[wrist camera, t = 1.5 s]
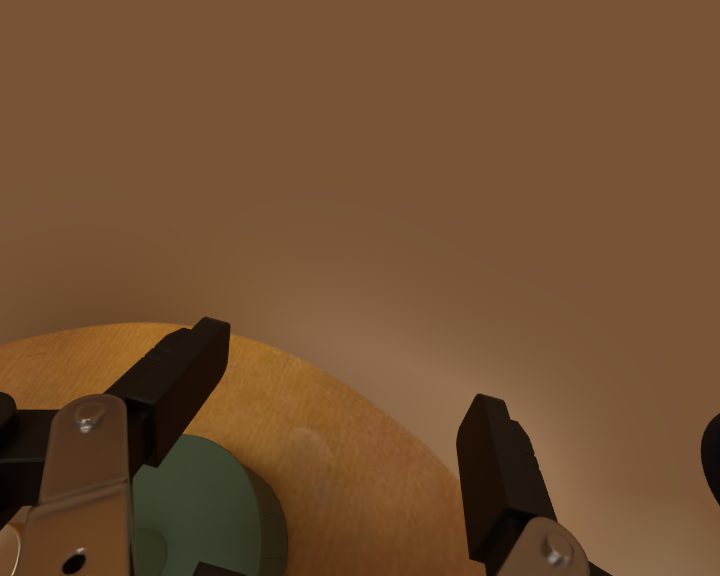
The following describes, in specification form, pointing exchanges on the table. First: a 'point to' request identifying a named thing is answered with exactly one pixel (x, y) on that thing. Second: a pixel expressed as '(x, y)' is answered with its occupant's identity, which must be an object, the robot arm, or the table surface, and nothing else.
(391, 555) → the table surface
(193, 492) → the tin lid
